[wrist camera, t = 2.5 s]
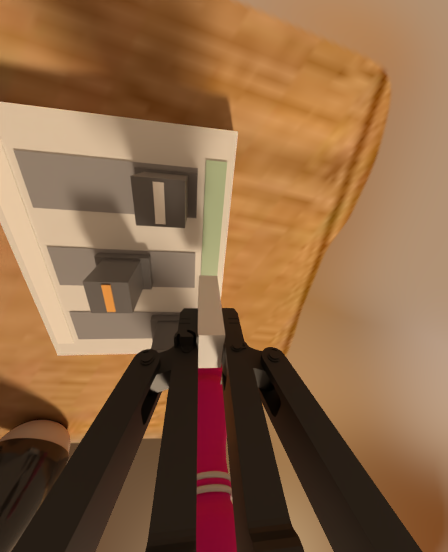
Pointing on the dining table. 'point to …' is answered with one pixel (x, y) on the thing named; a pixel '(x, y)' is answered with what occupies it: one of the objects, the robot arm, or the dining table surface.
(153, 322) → the breaker
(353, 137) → the dining table surface
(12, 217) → the panel
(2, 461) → the black glossy egg shape
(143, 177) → the breaker
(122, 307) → the breaker
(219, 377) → the pepper mill
